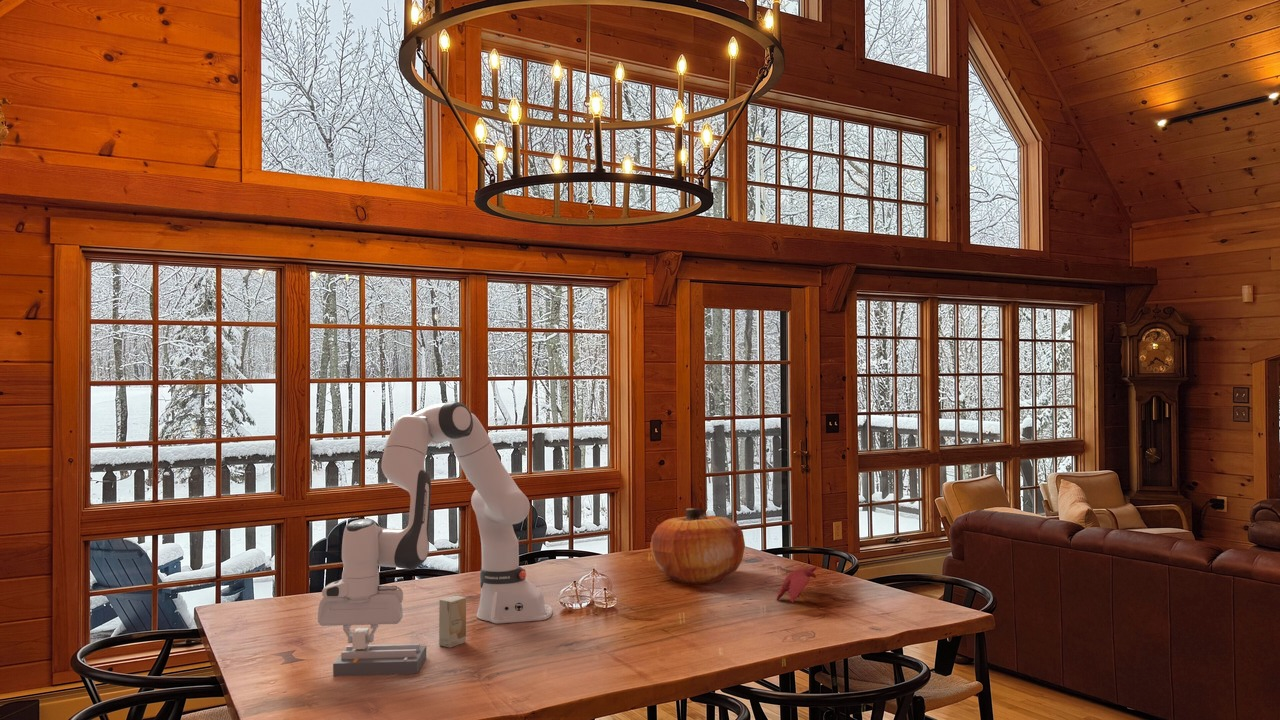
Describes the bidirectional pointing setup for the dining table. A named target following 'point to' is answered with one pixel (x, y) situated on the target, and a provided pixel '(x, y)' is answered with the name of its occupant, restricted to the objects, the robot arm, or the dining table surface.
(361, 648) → the fader knob
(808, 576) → the decorative bird sculpture
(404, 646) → the fader console
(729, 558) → the pumpkin
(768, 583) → the dining table surface
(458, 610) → the skincare box
